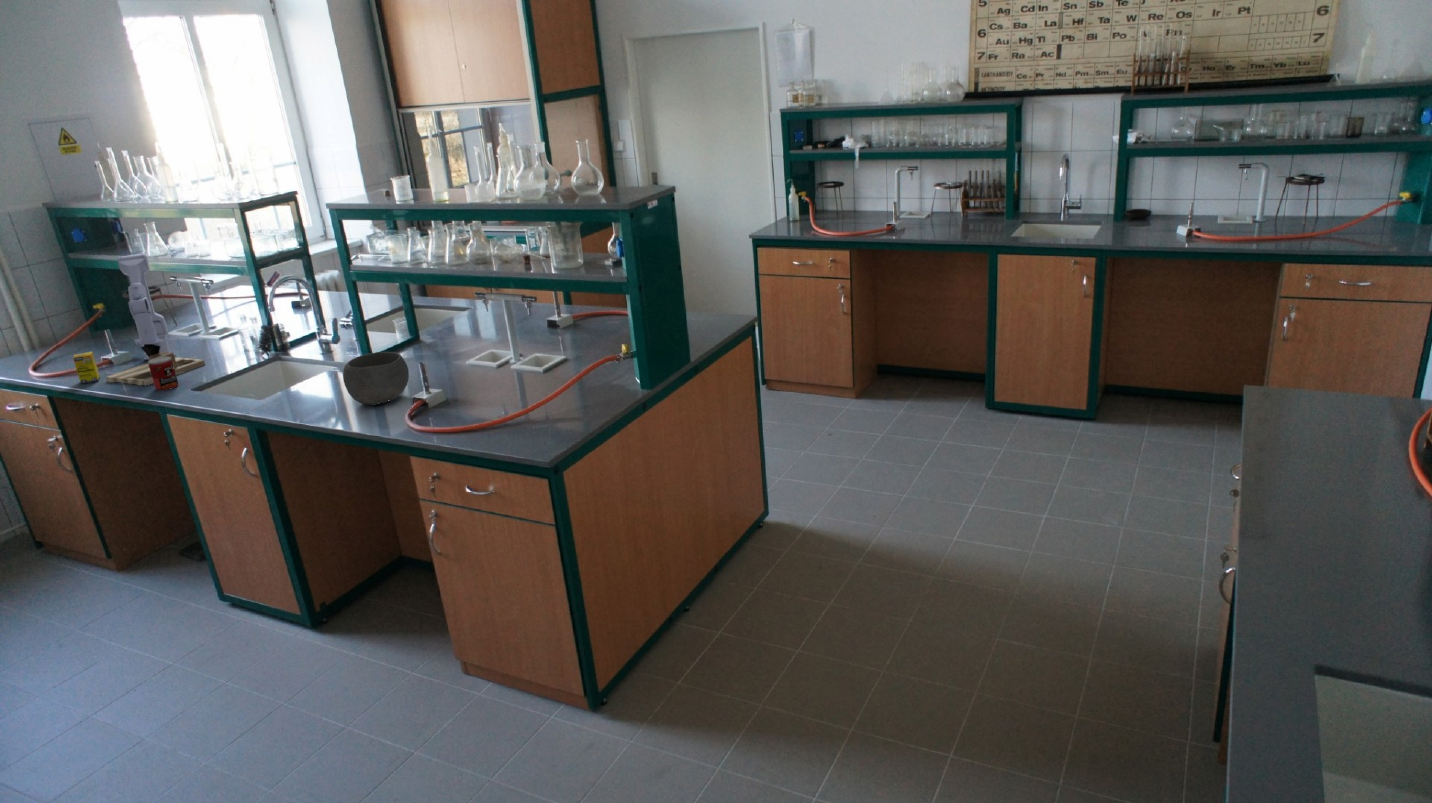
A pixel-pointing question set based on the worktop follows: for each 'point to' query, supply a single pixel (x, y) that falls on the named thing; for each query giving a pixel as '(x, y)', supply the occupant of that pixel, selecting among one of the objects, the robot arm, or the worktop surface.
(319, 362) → the worktop surface
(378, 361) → the bowl
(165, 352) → the walnut block
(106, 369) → the worktop surface
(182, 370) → the trap deck
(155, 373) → the canned food
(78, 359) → the supplement box
